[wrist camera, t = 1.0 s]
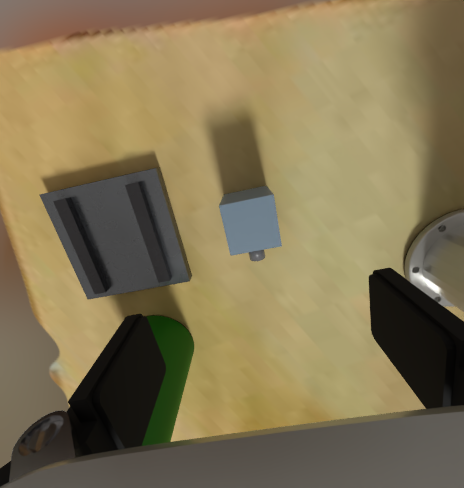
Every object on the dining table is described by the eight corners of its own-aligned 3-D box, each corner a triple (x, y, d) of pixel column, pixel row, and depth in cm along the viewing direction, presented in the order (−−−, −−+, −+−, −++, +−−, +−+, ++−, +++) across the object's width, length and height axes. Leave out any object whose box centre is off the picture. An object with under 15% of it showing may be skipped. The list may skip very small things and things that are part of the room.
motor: (124, 319, 36) (-6, 502, 17) (184, 310, 35) (118, 492, 16) (145, 373, 39) (56, 577, 20) (201, 366, 38) (162, 572, 19)
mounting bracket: (159, 167, 29) (152, 168, 26) (191, 275, 33) (188, 285, 31) (48, 192, 30) (32, 196, 28) (94, 293, 34) (83, 303, 32)
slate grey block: (266, 185, 29) (273, 194, 22) (274, 238, 31) (284, 261, 24) (224, 194, 29) (219, 205, 23) (235, 246, 32) (234, 270, 25)
